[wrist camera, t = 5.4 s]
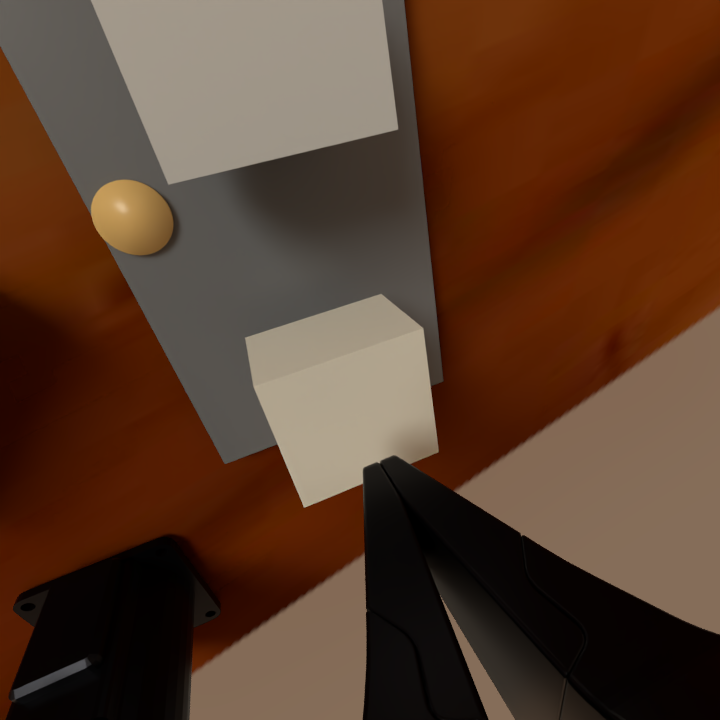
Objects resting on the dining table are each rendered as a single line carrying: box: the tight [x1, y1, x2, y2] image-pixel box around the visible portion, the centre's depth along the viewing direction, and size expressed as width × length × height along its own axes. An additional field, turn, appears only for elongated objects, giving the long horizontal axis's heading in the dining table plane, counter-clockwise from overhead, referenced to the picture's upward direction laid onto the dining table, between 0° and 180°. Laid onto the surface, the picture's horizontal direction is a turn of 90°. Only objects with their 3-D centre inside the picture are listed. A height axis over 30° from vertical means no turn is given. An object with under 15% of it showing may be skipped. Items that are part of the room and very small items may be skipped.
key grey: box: [91, 0, 398, 185], centre depth 7 cm, size 4×4×3 cm
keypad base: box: [0, 0, 443, 464], centre depth 10 cm, size 25×10×1 cm, turn 12°
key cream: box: [245, 294, 439, 508], centre depth 12 cm, size 4×4×3 cm
